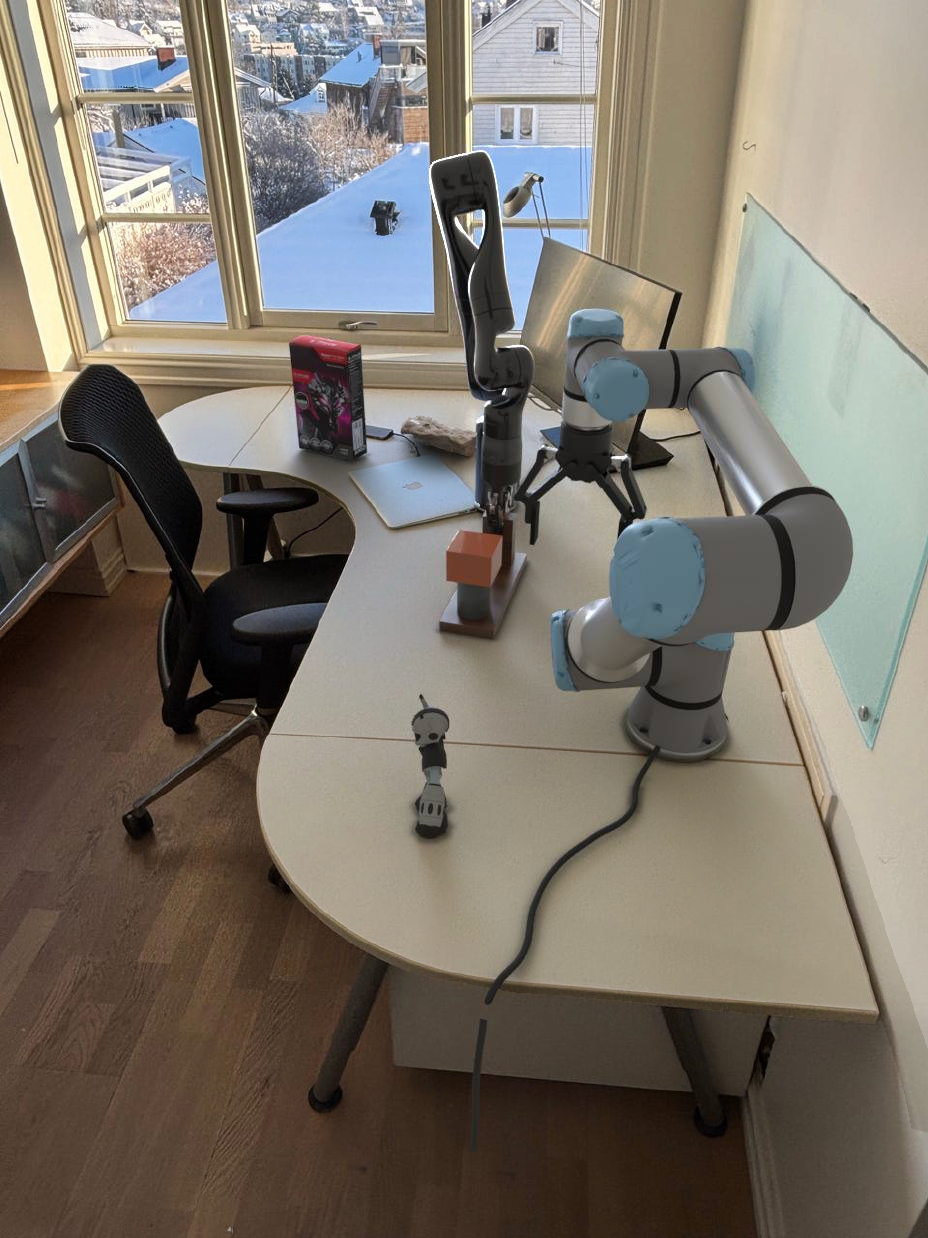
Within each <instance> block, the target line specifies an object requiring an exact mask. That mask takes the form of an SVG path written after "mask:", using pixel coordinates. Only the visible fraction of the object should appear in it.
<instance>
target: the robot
mask: <svg viewBox="0 0 928 1238" xmlns="http://www.w3.org/2000/svg"><path fill="white" fill-rule="evenodd" d="M418 697H419V698H418V699H419V701H420V703H421V705H422V708H421V709H420V710H419V711H418V712H416V714H414V715H413V717H412V720H411V721H410V722H411V723H410V724H411V731H412V732H413V734H414V745H416V746H417V749H418V752H419V753H420V755H421V772H422V773H423V775H424V776H425V780H426V782H425V783H424V786H423V789H422V792H421V793H420V795H419V796H418V797H417V799H416V800H415V802H414V806H415V808H416V811H417V812H418V821H417V822H416V825H415V828H414V831H415V832H416V833H417V834H418V835H419V836H420V837H421V838H424V839H435V838H438V837H439V836H443V835H444V834H446V832H447V829H448V826H449V823H448V816H447V813H446V811H445V810H446V809H447V808H448V805H447V804H448V803H447V796H446V793H445V790H444V787H443V786H442V784H441V782H440V781H441V779H442V777H443V772H442V769H447V768H448V757H447V752H446V749H445V743H444V741H445V740H446V739H447V738H446V733H448V730H449V729H450V718H449V715H448V714H447V712H445V711H444V710H442V709H441V708H439V707H437V706H430V705H429V704H428V702H427V700H426V698H425V697H424V695H423V693H420V694H419V695H418ZM418 746H419V747H418Z"/></svg>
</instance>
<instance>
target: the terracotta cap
mask: <svg viewBox="0 0 928 1238" xmlns="http://www.w3.org/2000/svg"><path fill="white" fill-rule="evenodd" d="M501 562H502V536H501V535H493V534H486V533H482V532H480V531H479V532H477V531H471V530H464V529H458V530H457V532H456V534H455V535H454V537H453V538H452V540H451V542H450V544H449V545H448V547H447V549H446V551H445V564H446V565H445V574H446V576H445V577H446V578H445V579H446V582H452V583H456V584H457V583H464V584H471V585H477V586H484V587H491V586H492V584H493V582H494V579H495V577H496V575H497V573H498V571H499V569H500V567H501Z"/></svg>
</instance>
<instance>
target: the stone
mask: <svg viewBox="0 0 928 1238" xmlns="http://www.w3.org/2000/svg"><path fill="white" fill-rule="evenodd" d="M400 434H401V435H403V436H404V435H411V436H412V437H413V438H414V439H415V440H418V441H421V443H422V445H424V446H427V447H431V446H433V447H435V448H438V449H440V450H443V451H446V452H451V453H458V454H460V455H462V456H465V457H471V455H473V453H474V452H475V449H476V431H473V430H470V429H461V428H457V427H448V426H447V425H445V424H443V423H440V422H438V421H437V420H434V419H433V418H432V417H429V416H424V415H416V416H414V417H412V416H411V417H410V416H409V417H408V418H406V420H405V421H403V422H402V424H401V427H400Z"/></svg>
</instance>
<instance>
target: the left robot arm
mask: <svg viewBox="0 0 928 1238" xmlns="http://www.w3.org/2000/svg"><path fill="white" fill-rule="evenodd" d="M494 169H495V167H494V164H493V162H492V159H491V158H490V155H489V153H487V152H486V151H485V150H475V151H471V152H467V153H462V154H458V155H457V154H456V155H454V156H449V157H445V158H442V159H441V158H440V159H438V160H436V161H433V162H432V164H431V165H430V168H429V176H428V177H429V184H430V190H431V196H432V201H433V203H434V208H435V211H436V215H437V220H438V224H439V226H440V230H441V235H442V238H443V241H444V246H445V250H446V256H447V261H448V268H449V274H450V279H451V286H452V292H453V298H454V301H455V307H456V310H457V315H458V318H459V324H460V328H461V333H462V339H463V347H464V348H463V349H464V357H465V369H466V377H467V385H468V389H469V392H470V394H471V396H472V397H473V398H474V399H476V400H477V401H480V402H485V404H484V406H483V415H481V416H479V417H478V418H477V420H476V422H475V432H476V447H475V456H474V457H475V461H474V462H475V464H474V465H475V467H474V501H473V505H474V508H475V509H476V510H477V511H479V512H482V513H483V514H484V513H485V511H486V516H487V524H488V526H489V527H491V534H493V535H501V536H502V540H503V525H504V515H505V514H506V513H507V512H509V513H511V512H512V511H514V510H515V509H516V507H517V501H515V500H514V495H515V494H516V492H517V490H518V488H519V487H520V485H521V478H522V465H523V464H522V461H523V436H522V430H523V412H524V409H525V405H526V402H527V399H528V396H529V394H530V390H531V386H532V385H533V380H534V377H535V371H536V365H535V359H534V355H533V353H532V351H531V350H530V349H529V348H528V347H527V346H526V345H522V344H516V345H509V346H501V347H496V340H497V337H499V336H502V335H505V334H507V333H508V332H511V331H512V330H513V329H514V327H515V325H516V317H515V313H514V307H513V302H512V297H511V292H510V287H509V283H508V276H507V269H506V268H507V267H506V259H505V246H504V235H503V224H502V216H501V215H502V214H501V206H500V198H499V189H498V183H497V178H496V172H495V170H494ZM476 212H482V220H483V221H482V222H483V223H482V224H483V227H482V235H481V239H480V242H479V246H478V245H476V243H475V242H474V241H473V239H471V238H470V237H469V236H468V234H467V233H466V231H465V230H464V229H463V227H462V225H461V224H460V222H459V219H458V218H457V217H459V216H465V215H469V214H472V213H476ZM526 476H527V474H526V475H525V477H526ZM475 501H476V502H477V503H479V504H480V507H478V506H477V505H476V504H475Z"/></svg>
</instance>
